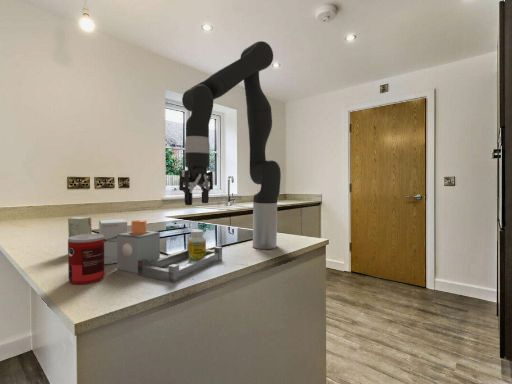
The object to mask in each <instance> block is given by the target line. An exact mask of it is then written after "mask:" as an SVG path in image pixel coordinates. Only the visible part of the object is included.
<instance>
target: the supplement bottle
mask: <svg viewBox="0 0 512 384" xmlns="http://www.w3.org/2000/svg"><path fill="white" fill-rule="evenodd" d="M204 232H205V231H204V230H203V229H193V230H190V237H189V238H188V244H189V258H188V261H189V263H191V262H193V261H196V260H198V259H200V258H203V257H205V256H206V249H207V248H206V247H207V239H206V237H205V236H204Z"/></svg>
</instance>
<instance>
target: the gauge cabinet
mask: <svg viewBox="0 0 512 384" xmlns="http://www.w3.org/2000/svg"><path fill="white" fill-rule="evenodd" d="M160 238H161V234H160V232H159V231H153V230H146V234H142V235H132V234H131V231H127V232H126V233H121V234H117V262H118V263H117V270H121V271H126V272H129V273H130V272H131V273H135V274H138V260H140V259H148V262H151V261H154V260H157V259H159V258H161V256H160V252H161V251H160V247H161V245H160V242H161V240H160Z"/></svg>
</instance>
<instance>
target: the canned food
mask: <svg viewBox="0 0 512 384" xmlns="http://www.w3.org/2000/svg"><path fill="white" fill-rule="evenodd" d="M67 239H68V240H67V254H68V255H67V260H68V261H67V264H68V281H69V283H70V284H71V285H72V284H73V285H77V286H78V285H79V286H80V285H89V284H93V283H97V282H99V281H101V280H103V279H104V277H105V264H104V235H102V234H99V233H92V234H82V235H75V236H71V237H69V236H68V238H67Z"/></svg>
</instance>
